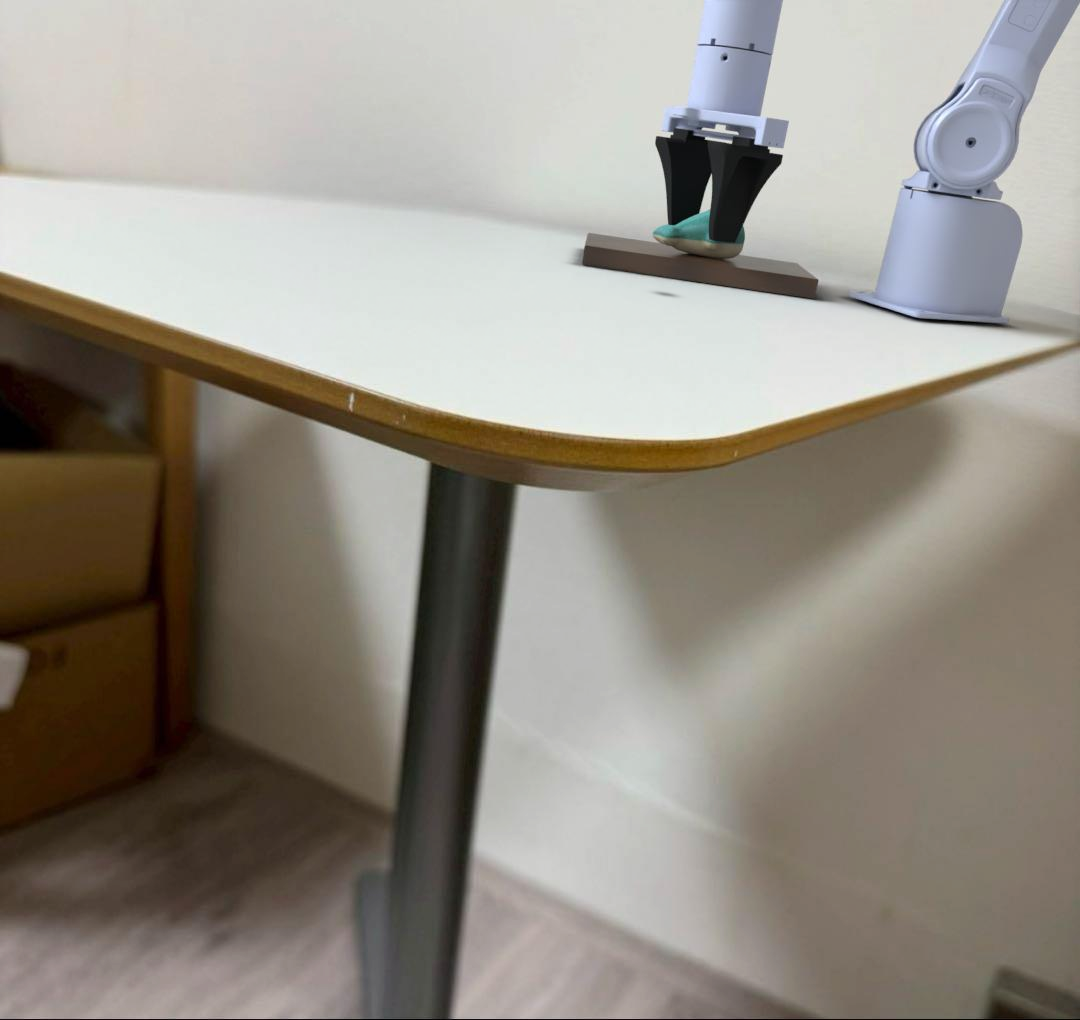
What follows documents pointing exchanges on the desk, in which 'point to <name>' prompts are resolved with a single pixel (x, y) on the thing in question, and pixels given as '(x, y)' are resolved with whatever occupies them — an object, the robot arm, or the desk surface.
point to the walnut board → (698, 266)
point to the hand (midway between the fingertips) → (700, 234)
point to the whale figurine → (698, 238)
